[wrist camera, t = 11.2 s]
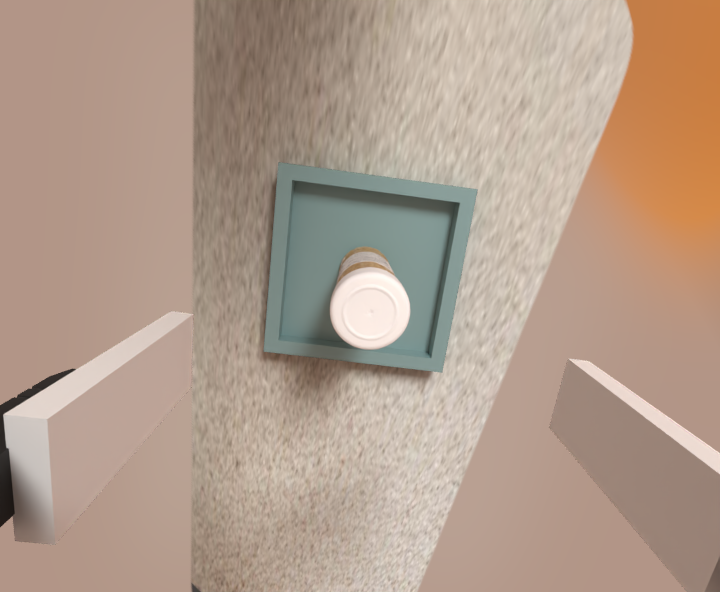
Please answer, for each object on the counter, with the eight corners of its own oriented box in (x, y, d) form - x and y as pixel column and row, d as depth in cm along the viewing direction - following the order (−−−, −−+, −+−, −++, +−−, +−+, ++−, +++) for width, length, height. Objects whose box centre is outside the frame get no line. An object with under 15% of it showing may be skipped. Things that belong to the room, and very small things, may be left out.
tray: (283, 164, 34) (278, 162, 31) (469, 190, 34) (477, 189, 32) (269, 341, 38) (263, 351, 35) (436, 361, 38) (442, 372, 36)
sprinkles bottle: (379, 303, 36) (393, 362, 23) (331, 286, 35) (317, 337, 22) (398, 255, 35) (424, 289, 22) (348, 237, 34) (344, 260, 21)
